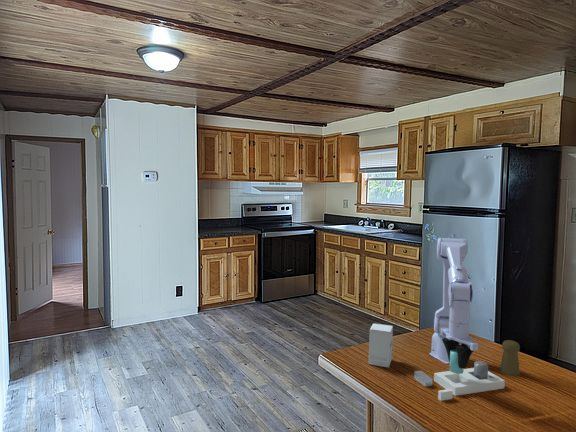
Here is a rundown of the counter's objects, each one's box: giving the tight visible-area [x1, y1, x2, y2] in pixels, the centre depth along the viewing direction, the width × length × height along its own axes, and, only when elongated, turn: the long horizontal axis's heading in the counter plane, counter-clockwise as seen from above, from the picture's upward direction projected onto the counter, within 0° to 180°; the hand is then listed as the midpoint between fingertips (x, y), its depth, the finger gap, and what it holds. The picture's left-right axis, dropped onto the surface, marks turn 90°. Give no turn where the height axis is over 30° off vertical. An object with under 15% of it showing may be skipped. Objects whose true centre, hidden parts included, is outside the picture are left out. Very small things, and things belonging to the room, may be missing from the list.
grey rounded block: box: [473, 360, 489, 380], centre depth 129 cm, size 4×4×6 cm
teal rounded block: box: [449, 349, 465, 374], centre depth 126 cm, size 4×4×6 cm
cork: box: [499, 339, 521, 377], centre depth 137 cm, size 6×6×11 cm
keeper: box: [437, 389, 454, 403], centre depth 119 cm, size 1×4×3 cm, turn 106°
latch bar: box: [413, 370, 433, 388], centre depth 129 cm, size 6×2×3 cm, turn 16°
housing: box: [433, 367, 506, 396], centre depth 128 cm, size 10×18×3 cm, turn 106°
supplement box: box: [368, 323, 394, 368], centre depth 145 cm, size 7×7×13 cm
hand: (457, 364), depth 126 cm, fingers closed on teal rounded block, 4 cm apart
